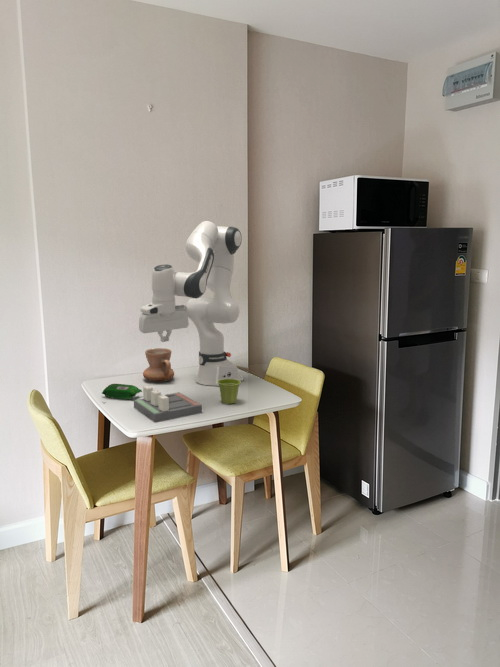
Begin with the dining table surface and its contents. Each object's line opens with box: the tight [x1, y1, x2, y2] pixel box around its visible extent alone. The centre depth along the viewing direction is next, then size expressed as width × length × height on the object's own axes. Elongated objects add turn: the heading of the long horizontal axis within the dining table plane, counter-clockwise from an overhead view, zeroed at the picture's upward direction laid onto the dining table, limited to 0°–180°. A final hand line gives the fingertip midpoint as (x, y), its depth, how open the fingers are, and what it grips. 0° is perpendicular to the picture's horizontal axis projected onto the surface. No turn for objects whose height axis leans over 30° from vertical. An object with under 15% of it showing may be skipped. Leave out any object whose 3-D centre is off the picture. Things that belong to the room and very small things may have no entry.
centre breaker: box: [151, 389, 162, 406], centre depth 204 cm, size 2×4×5 cm
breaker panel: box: [133, 391, 203, 423], centre depth 207 cm, size 20×19×3 cm
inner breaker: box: [142, 385, 154, 401], centre depth 209 cm, size 2×4×5 cm
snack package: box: [101, 383, 143, 400], centre depth 221 cm, size 7×16×5 cm, turn 76°
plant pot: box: [218, 379, 242, 405], centre depth 218 cm, size 9×9×9 cm
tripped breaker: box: [158, 394, 169, 412], centre depth 198 cm, size 2×4×5 cm
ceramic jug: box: [142, 347, 175, 383], centre depth 246 cm, size 18×14×14 cm
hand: (164, 341), depth 210 cm, fingers closed
